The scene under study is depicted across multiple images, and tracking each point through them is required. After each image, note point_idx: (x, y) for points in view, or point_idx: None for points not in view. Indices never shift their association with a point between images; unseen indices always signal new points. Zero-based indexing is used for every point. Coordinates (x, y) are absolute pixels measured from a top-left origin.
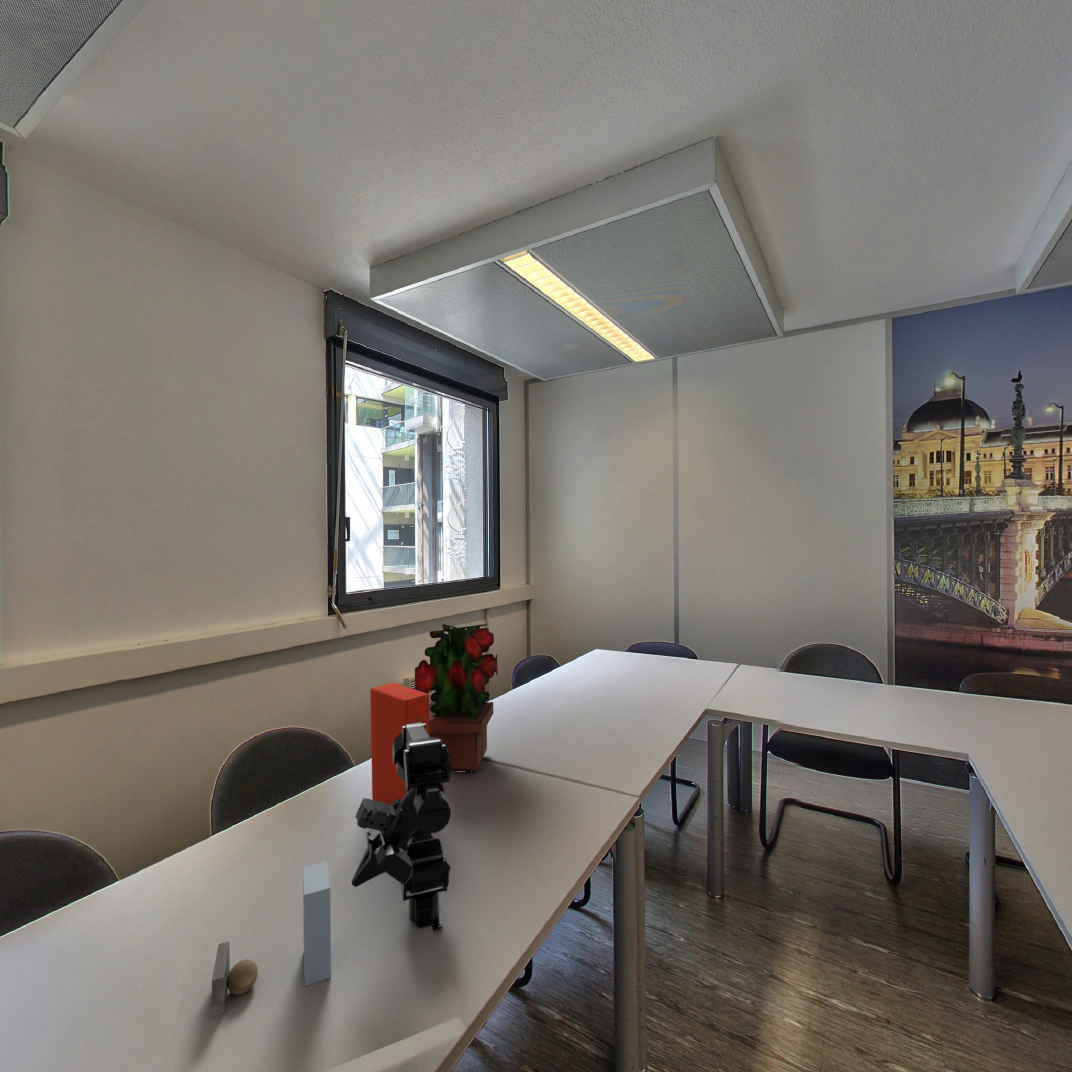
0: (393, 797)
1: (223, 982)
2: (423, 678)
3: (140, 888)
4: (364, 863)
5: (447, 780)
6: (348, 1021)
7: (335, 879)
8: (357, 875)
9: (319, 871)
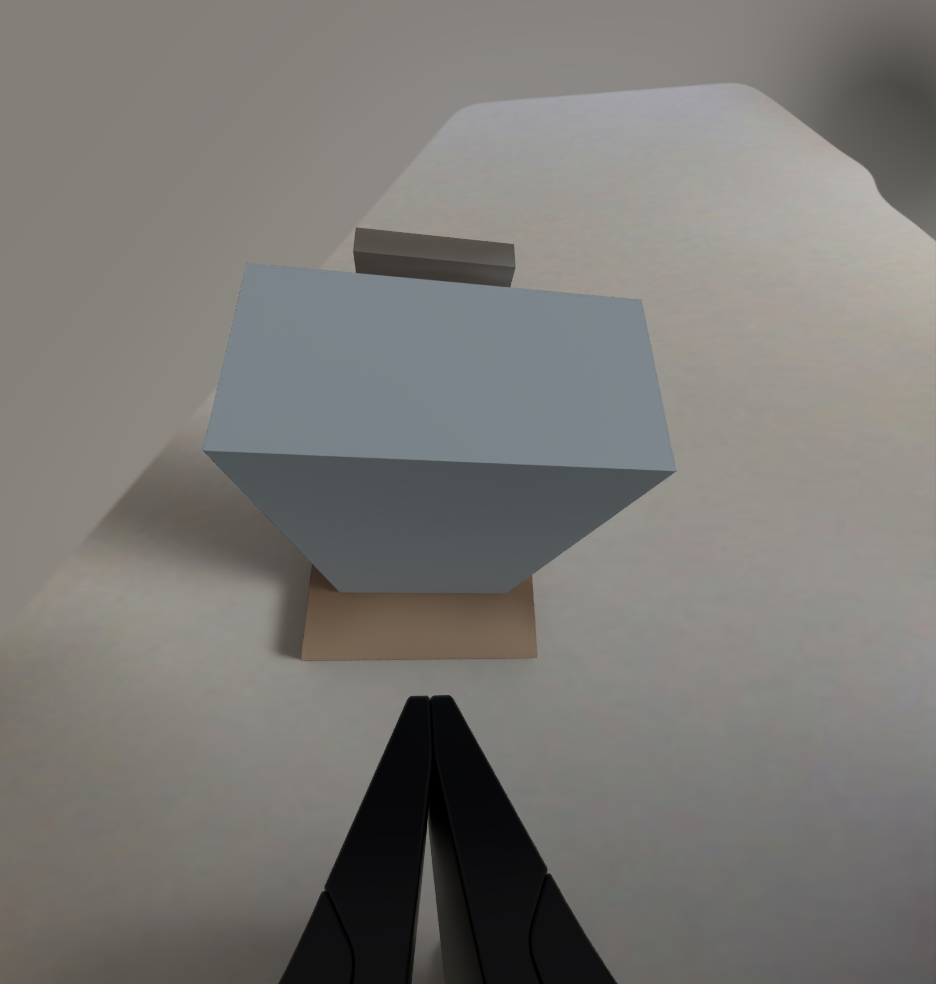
0: None
1: (356, 264)
2: None
3: (869, 210)
4: (383, 943)
5: None
6: (168, 639)
7: (866, 650)
8: (387, 770)
9: (529, 394)
